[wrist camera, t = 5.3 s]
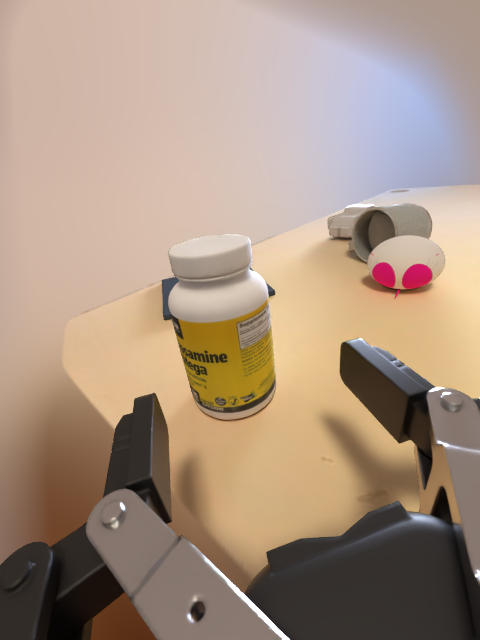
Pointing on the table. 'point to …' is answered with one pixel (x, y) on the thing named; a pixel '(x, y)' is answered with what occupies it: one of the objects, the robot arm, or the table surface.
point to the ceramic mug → (388, 226)
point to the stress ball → (406, 262)
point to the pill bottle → (223, 325)
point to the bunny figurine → (345, 221)
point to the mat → (168, 286)
